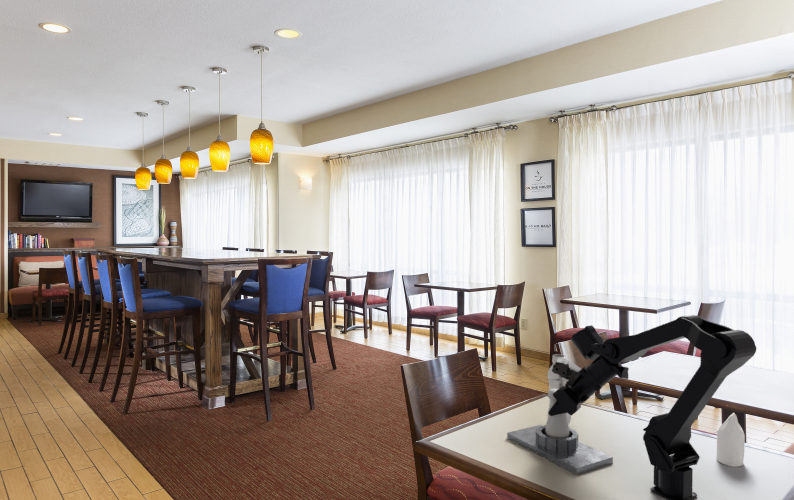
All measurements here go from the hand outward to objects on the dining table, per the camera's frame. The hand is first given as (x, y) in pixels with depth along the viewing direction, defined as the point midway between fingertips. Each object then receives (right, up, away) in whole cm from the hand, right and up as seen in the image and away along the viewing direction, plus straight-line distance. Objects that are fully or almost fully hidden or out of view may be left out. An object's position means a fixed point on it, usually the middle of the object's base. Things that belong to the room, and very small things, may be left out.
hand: (551, 412), depth 130 cm
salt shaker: (+1, -7, -1) cm, 7 cm away
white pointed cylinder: (+40, -10, -8) cm, 42 cm away
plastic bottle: (+7, -9, +16) cm, 20 cm away
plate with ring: (+1, -9, 0) cm, 10 cm away
